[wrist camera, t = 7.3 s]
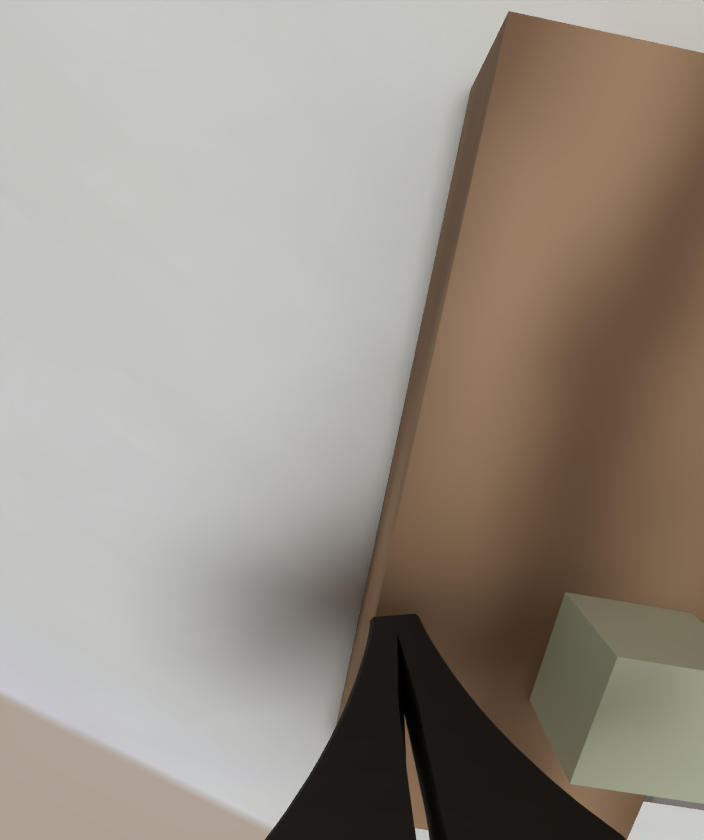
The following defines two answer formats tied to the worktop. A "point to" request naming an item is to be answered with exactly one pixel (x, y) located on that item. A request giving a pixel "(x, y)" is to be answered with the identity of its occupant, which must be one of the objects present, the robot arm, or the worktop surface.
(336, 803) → the robot arm
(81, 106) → the worktop surface
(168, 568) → the worktop surface
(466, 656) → the board
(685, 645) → the tile sage
